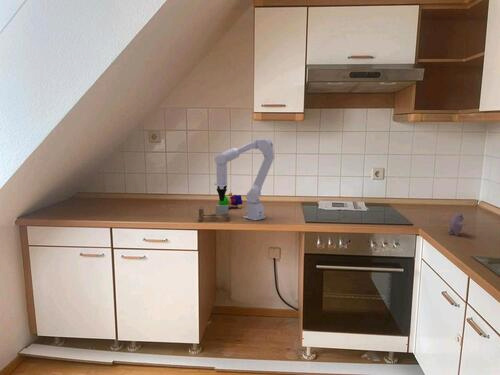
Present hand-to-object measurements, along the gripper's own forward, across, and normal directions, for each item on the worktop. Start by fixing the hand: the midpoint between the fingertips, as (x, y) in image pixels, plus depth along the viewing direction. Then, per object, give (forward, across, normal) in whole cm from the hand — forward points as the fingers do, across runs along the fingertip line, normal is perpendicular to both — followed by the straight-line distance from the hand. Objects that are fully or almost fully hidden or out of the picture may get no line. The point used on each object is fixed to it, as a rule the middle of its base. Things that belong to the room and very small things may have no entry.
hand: (222, 199), depth 207 cm
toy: (+10, -20, +5) cm, 22 cm away
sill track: (+9, +8, -4) cm, 13 cm away
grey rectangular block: (+9, 0, 0) cm, 9 cm away
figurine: (+9, +41, +109) cm, 117 cm away
